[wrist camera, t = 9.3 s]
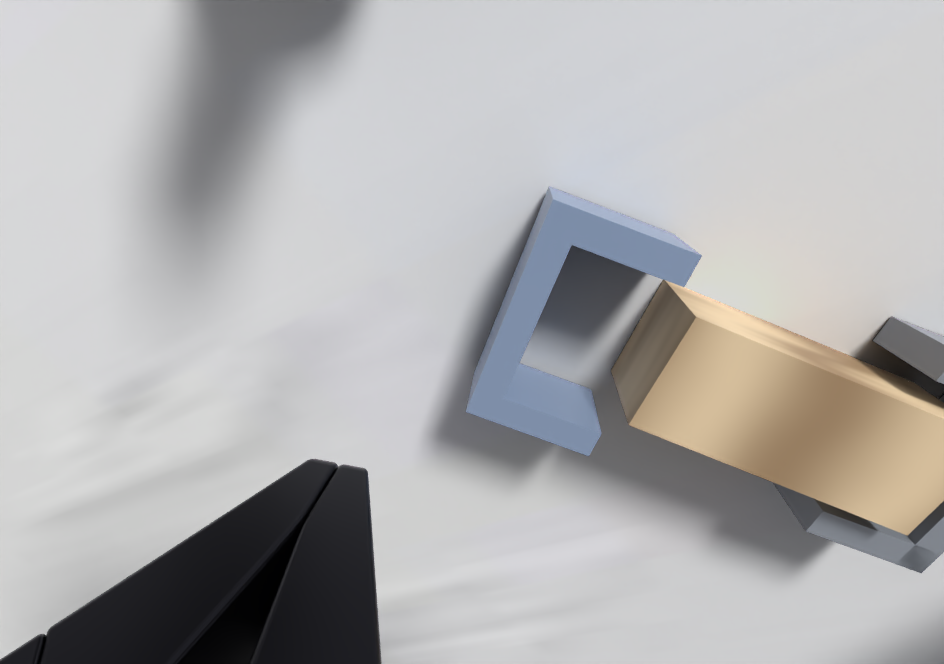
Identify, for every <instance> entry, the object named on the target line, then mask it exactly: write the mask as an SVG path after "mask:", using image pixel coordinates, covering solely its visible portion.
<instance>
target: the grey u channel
mask: <svg viewBox="0 0 944 664" xmlns="http://www.w3.org/2000/svg"><path fill="white" fill-rule="evenodd" d="M873 341H874V342H875V343H877V344H879V345H880V346H882V347H883V348H885V349H886V350H888V351H890V352H891V353H893V354H894V355H896V356H897V357H899V358H901V359H902V360H904V361H905V362H907V363H908V364H910V365H911V366H913V367H915V368H916V369H918V370H919V371H921V372H922V373H924V374H926V375H927V376H929V377H930V378H932V379H933V380H935V381H937V382H939V383H942V384H944V336H942V335H939V334H937V333H934V332H931V331H929V330H926V329H924V328H921V327H918V326H916V325H913V324H910V323H908V322H905V321H903V320H900V319H897V318H895V317H892V316H891V318H890V319H889V320H888V321H887V323H886V324H885V325H884V327H883V328H882V329H881V331H880V332H879V333H878V334H877V336H876V337H875V338H874V340H873ZM939 400H940V401H942V402H943V403H944V395H943V396H942V397H941V398H940V399H939ZM773 483H774V482H773ZM774 485H775V486H776V488H777V489H778V491H779V492H780V494H781V495H782V497H783V498H784V500H785V501H786V503H787V504H788V506H789V507H790V509H791V510H792V512H793V513H794V515H795V516H796V518H797V519H798V521H799V522H800V524H801V525H802V527H803V528H804V529H805V531H806V532H809V533H811V534H814V535H817V536H820V537H823V538H825V539H828V540H831V541H834V542H836V543H839V544H842V545H845V546H847V547H850V548H853V549H856V550H858V551H861V552H864V553H867V554H870V555H872V556H875V557H878V558H881V559H883V560H886V561H889V562H892V563H894V564H897V565H900V566H903V567H906V568H908V569H911V570H914V571H917V572H919V573H922V572H923V571H924V570H925V569H926V568H927V567H928V566H929V565H931V564H932V563H933V562H934V561H935V560H936V559H937V558H938V557H939V556H940V555H941V554H942V553H943V552H944V501H943V502H942V503H941V504H940V505H939V506H938V507H937V508H936V509H935V510H934V511H933V512H932V513H931V514H929V515H928V516H927V517H926V518H925V519H924V520H923V521H922V522H921V523H920V524H919V525H918V526H917V527H916V528H915V529H914V530H913V531H912V532H911V533H910V534H909V535H908V536H907V535H905V534H902V533H900V532H897V531H894V530H892V529H889V528H887V527H884V526H882V525H879V524H877V523H874V522H872V521H869V520H867V519H864V518H862V517H859V516H857V515H854V514H852V513H849V512H847V511H844V510H842V509H839V508H837V507H834V506H831V505H829V504H826V503H824V502H821V501H819V500H816V499H814V498H811V497H809V496H806V495H804V494H801V493H799V492H796V491H794V490H791V489H789V488H786V487H784V486H781V485H779V484H776V483H774Z"/></svg>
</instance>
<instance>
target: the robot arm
mask: <svg viewBox="0 0 944 664" xmlns="http://www.w3.org/2000/svg"><path fill="white" fill-rule="evenodd" d="M0 664H381V650H380V636H379V622H378V608H377V594H376V579H375V565H374V551H373V537H372V523H371V509H370V495H369V481H368V472H367V470H366V469H364V468H360V467H355V466H350V465H341V466H339V467H338V465H337V464H336V463H334V462H329V461H323V460H318V459H310V460H307V461H306V462H304V463H303V464H301V465H300V466H298V467H296V468H295V469H293V470H292V471H290V472H289V473H287V474H286V475H284V476H283V477H281V478H280V479H278V480H276V481H275V482H273V483H272V484H270V485H269V486H267V487H266V488H264V489H263V490H261V491H260V492H258V493H256V494H255V495H253V496H252V497H250V498H249V499H247V500H246V501H244V502H243V503H241V504H240V505H238V506H236V507H235V508H233V509H232V510H230V511H229V512H227V513H226V514H224V515H223V516H221V517H220V518H218V519H216V520H215V521H213V522H212V523H210V524H209V525H207V526H206V527H204V528H203V529H201V530H200V531H198V532H196V533H195V534H193V535H192V536H190V537H189V538H187V539H186V540H184V541H183V542H181V543H180V544H178V545H176V546H175V547H173V548H172V549H170V550H169V551H167V552H166V553H164V554H163V555H161V556H160V557H158V558H156V559H155V560H153V561H152V562H150V563H149V564H147V565H146V566H144V567H143V568H141V569H140V570H138V571H136V572H135V573H133V574H132V575H130V576H129V577H127V578H126V579H124V580H123V581H121V582H120V583H118V584H116V585H115V586H113V587H112V588H110V589H109V590H107V591H106V592H104V593H103V594H101V595H100V596H98V597H96V598H95V599H93V600H92V601H90V602H89V603H87V604H86V605H84V606H83V607H81V608H80V609H78V610H76V611H75V612H73V613H72V614H70V615H69V616H67V617H66V618H64V619H63V620H61V621H60V622H58V623H56V624H55V625H53V626H52V627H51V628H50V629H49V630H48V632H47V636H46V635H45V634H40V635H38V636H36V637H34V638H33V639H31V640H30V641H28V642H27V643H25V644H24V645H22V646H21V647H19V648H17V649H16V650H14V651H13V652H11V653H10V654H8V655H7V656H5V657H4V658H2V659H1V660H0Z"/></svg>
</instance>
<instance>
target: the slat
mask: <svg viewBox="0 0 944 664" xmlns="http://www.w3.org/2000/svg"><path fill="white" fill-rule="evenodd" d="M611 373H612V376H613V379H614V382H615V385H616V388H617V391H618V394H619V397H620V400H621V403H622V406H623V410H624V413H625V416H626V419H627V422H628V425H630V426H632V427H635V428H637V429H640V430H642V431H645V432H647V433H650V434H653V435H655V436H658V437H660V438H663V439H665V440H668V441H670V442H673V443H675V444H678V445H680V446H683V447H685V448H688V449H690V450H693V451H695V452H698V453H700V454H703V455H705V456H708V457H710V458H713V459H716V460H718V461H721V462H723V463H726V464H728V465H731V466H733V467H736V468H738V469H741V470H743V471H746V472H748V473H751V474H753V475H756V476H758V477H761V478H763V479H766V480H768V481H771V482H774V483H776V484H779V485H781V486H784V487H786V488H789V489H791V490H794V491H796V492H799V493H801V494H804V495H806V496H809V497H811V498H814V499H816V500H819V501H821V502H824V503H826V504H829V505H831V506H834V507H837V508H839V509H842V510H844V511H847V512H849V513H852V514H854V515H857V516H859V517H862V518H864V519H867V520H869V521H872V522H874V523H877V524H879V525H882V526H884V527H887V528H889V529H892V530H894V531H897V532H900V533H902V534H905V535H907V536H908V535H909V534H910V533H911V532H912V531H913V530H914V529H915V528H916V527H917V526H918V525H919V524H920V523H921V522H922V521H923V520H924V519H925V518H926V517H927V516H928V515H929V514H931V513H932V512H933V511H934V510H935V509H936V508H937V507H938V506H939V505H940V504H941V503H942V502H943V501H944V403H943V402H942V401H940V400H939V399H937V398H936V397H934V396H933V395H931V394H930V393H928V392H927V391H926V390H924V389H923V388H921V387H920V386H918V385H917V384H915V383H914V382H912V381H909V380H907V379H905V378H902V377H900V376H897V375H895V374H892V373H890V372H888V371H885V370H883V369H880V368H878V367H876V366H873V365H871V364H868V363H866V362H863V361H861V360H859V359H856V358H854V357H851V356H849V355H847V354H844V353H842V352H839V351H837V350H834V349H832V348H830V347H827V346H825V345H822V344H820V343H817V342H815V341H813V340H810V339H808V338H805V337H803V336H801V335H798V334H796V333H793V332H791V331H788V330H786V329H784V328H781V327H779V326H776V325H774V324H772V323H769V322H767V321H764V320H762V319H759V318H757V317H755V316H752V315H750V314H747V313H745V312H742V311H740V310H738V309H735V308H733V307H730V306H728V305H726V304H723V303H721V302H718V301H716V300H713V299H711V298H709V297H706V296H704V295H701V294H699V293H696V292H694V291H692V290H689V289H687V288H684V287H682V286H679V285H676V284H674V283H671V282H668V281H666V280H663V281H662V283H661V285H660V286H659V288H658V290H657V292H656V293H655V295H654V297H653V298H652V300H651V302H650V304H649V305H648V307H647V309H646V311H645V312H644V314H643V316H642V318H641V319H640V321H639V323H638V324H637V326H636V328H635V330H634V331H633V333H632V335H631V337H630V338H629V340H628V342H627V343H626V345H625V347H624V349H623V350H622V352H621V354H620V356H619V357H618V359H617V361H616V362H615V364H614V366H613V368H612V369H611Z"/></svg>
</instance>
